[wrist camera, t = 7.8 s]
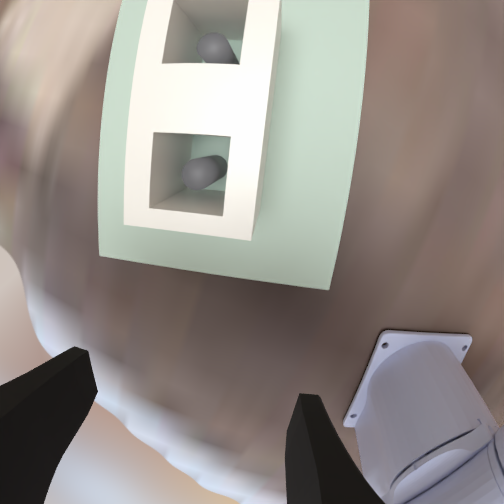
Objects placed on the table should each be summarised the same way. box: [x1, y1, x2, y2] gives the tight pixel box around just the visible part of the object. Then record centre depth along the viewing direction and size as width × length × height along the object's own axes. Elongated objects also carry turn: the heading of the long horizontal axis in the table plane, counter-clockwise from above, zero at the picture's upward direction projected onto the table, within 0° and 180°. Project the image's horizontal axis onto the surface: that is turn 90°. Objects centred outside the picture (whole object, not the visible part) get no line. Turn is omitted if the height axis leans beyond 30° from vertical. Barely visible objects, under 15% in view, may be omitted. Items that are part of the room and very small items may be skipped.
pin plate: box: [98, 0, 369, 290], centre depth 13 cm, size 16×13×5 cm
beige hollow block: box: [124, 0, 282, 241], centre depth 11 cm, size 9×5×5 cm, turn 174°
